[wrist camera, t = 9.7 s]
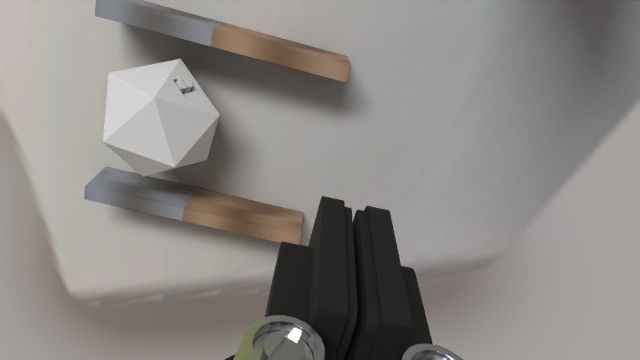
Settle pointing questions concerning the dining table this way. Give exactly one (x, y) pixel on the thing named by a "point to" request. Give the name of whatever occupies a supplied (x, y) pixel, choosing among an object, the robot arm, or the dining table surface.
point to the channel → (189, 202)
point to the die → (158, 117)
